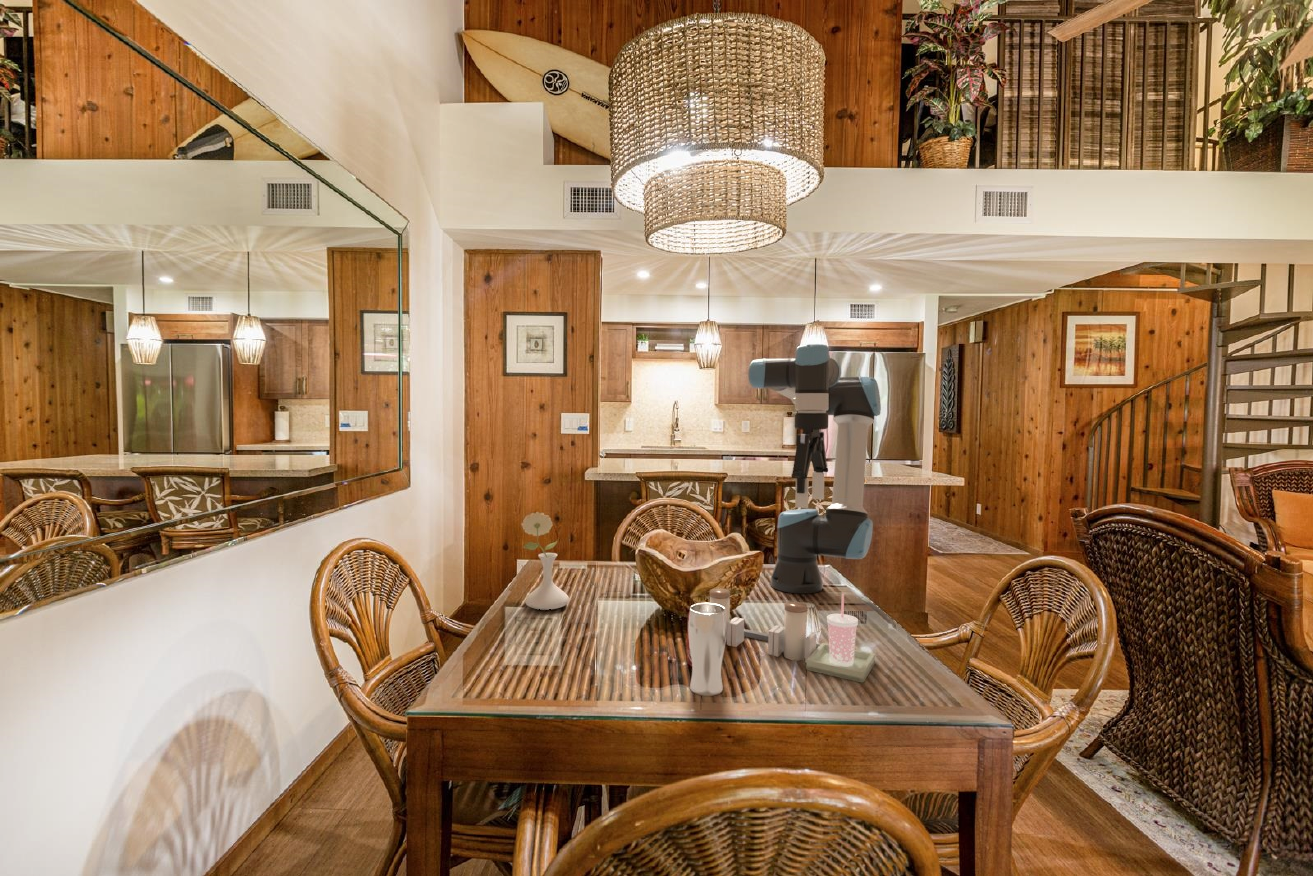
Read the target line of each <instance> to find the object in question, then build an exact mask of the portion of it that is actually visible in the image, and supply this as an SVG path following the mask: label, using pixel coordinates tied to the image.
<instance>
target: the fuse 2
mask: <svg viewBox="0 0 1313 876" xmlns="http://www.w3.org/2000/svg"><path fill="white" fill-rule="evenodd" d="M807 611H808V605H807V604H806V602H802V601H801V602H800V601H795V600H794V601H793V600H792V601H786V602H784V624H783V625H784V626H783V627H784V651H783V656H784V658H785V659H788V660H791V661H804V660H805V639H806V638H807V614H808V613H807ZM803 659H804V660H803Z"/></svg>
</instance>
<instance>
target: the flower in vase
mask: <svg viewBox="0 0 1313 876" xmlns="http://www.w3.org/2000/svg"><path fill="white" fill-rule="evenodd" d="M520 525H521V527H522V529H523V530H524V533H526V534H528V535H532V536H533V537H536V540H537V542H533V541H530V542H529V541H528V542H527V543H526V544H524V545H523V547H522V549H526V550H531V551H535V550H536V549H537V548H538V547H539V548H540V549H541V551H542V553H539V554H538V558H539V559H540V562H541V563H542V571H543V575H542V582H541V584H540V585H538V587H536V588H535V589H534V590H533V591H531V592H530V593H529V594H528V595H527V596H526V598H525V604H526V605H527V607H529V608H532V609H535V610H539V609H540V610H541V611H546V610H547V611H550V610H549V609H551V610H556V609H559V608H563V607H565V606H567V605H568V603H569V602H570V597H569V596H568V594H567V593H566V592H565V591H563V589H561V588H560V587H558V586H557V585H556V584H555V583H554V580H553V566H554V562H555V560H556V558H558V553H555V552H546V551H548V550H551V549H553V548H554V547H556V545H557V543H558V540H556V541H555V542H552V543H548V544H547V545H546V546H545V547H544V548H543V547H542V546H541V544H540V542H539V541H540V540H539V537H541V536H543V535H545V534H547V533H548V534H549V533H550V530H551V529H552V527H553V525H554V524H553V521H552V518H551V517H550V515H549V514H548V515H547V514H545V513H544V512H541V513H540V512H539V511H536V512H531V513H530V514H527V515H526V516H525V517H524V519H523V520H522V522H521V523H520Z"/></svg>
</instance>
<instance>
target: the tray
mask: <svg viewBox="0 0 1313 876" xmlns="http://www.w3.org/2000/svg"><path fill="white" fill-rule="evenodd" d="M819 645H820V646H819V647H818V648H817V649H816V650H815V651H814V652H813V653H812V654H811V655H810V657H809V658H808V659H807V660H806V663H805V664H806V667H805V669H806V671H809V670H810V672H815V673H820V674H822V673H823V675H827V676H832V677H837V678H840V679H844V680H847V681H848V680H849V681H853V682H858V683H861V684H864V683H865V680H866V679H867V677H868V676H869V674H870V672H871V671H872V669H873V667H874V666H875V664H876V653H874V652H870V651H869V652H868V651H864V650H858V649H855V651H854V663H853V665H852V666H848V667H843V666H839V665H834V664H832V663H831V662H830V654H829V643H825V642H821V644H819Z"/></svg>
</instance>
